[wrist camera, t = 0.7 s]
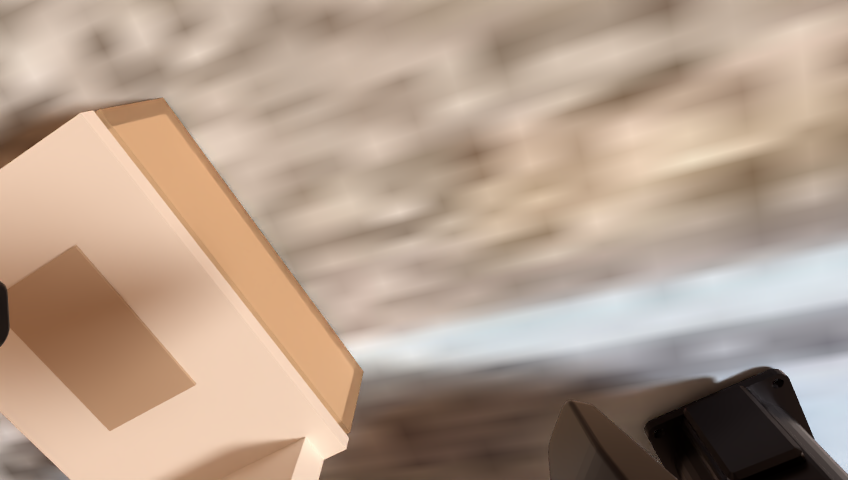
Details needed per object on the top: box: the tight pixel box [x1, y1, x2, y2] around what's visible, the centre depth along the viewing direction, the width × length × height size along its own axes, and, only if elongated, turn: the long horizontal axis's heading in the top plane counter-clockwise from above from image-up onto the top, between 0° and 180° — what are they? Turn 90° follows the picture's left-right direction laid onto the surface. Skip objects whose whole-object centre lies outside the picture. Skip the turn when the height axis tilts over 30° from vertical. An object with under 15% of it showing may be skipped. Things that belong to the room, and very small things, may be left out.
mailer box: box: [95, 98, 363, 434], centre depth 21 cm, size 14×10×4 cm
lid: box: [0, 111, 349, 480], centre depth 17 cm, size 14×10×3 cm
